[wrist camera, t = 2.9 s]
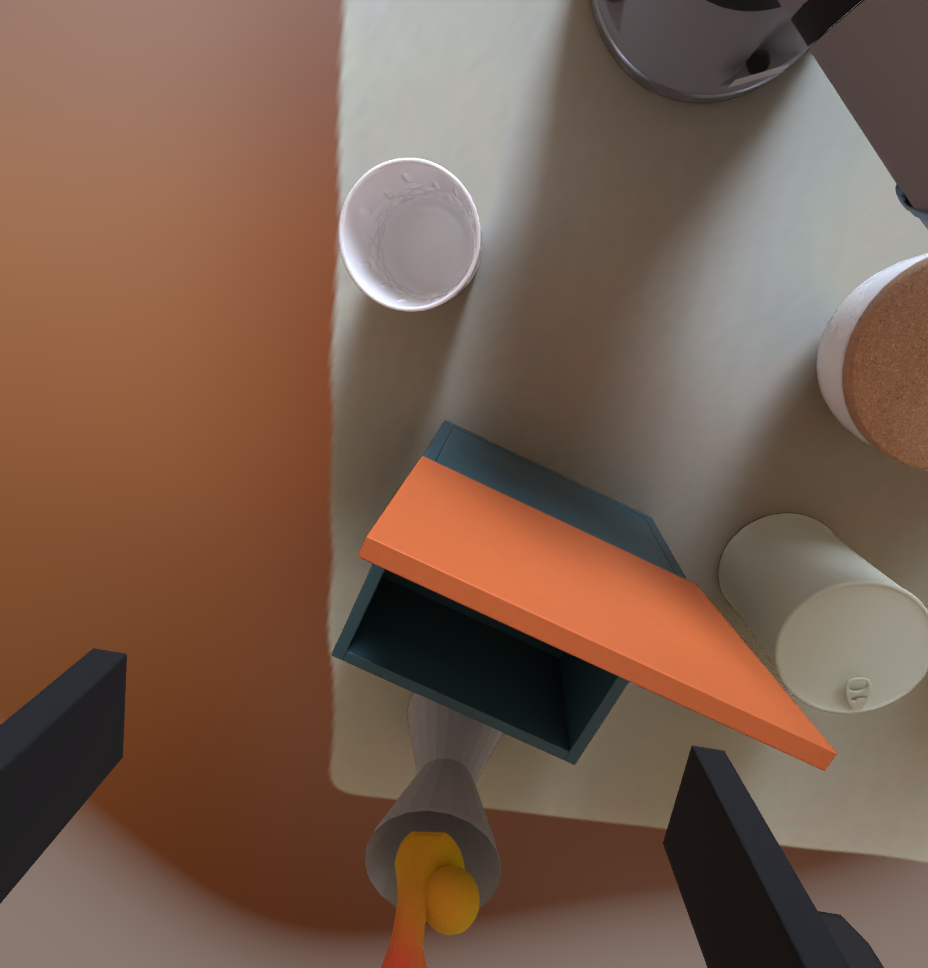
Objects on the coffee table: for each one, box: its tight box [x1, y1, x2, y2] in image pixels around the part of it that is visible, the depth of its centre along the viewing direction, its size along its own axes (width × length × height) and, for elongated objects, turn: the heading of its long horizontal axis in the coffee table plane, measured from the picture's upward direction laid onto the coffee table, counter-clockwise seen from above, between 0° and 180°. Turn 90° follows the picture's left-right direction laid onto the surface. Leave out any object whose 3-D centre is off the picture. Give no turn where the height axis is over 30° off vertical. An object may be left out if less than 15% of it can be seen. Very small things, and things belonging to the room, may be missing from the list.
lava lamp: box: [365, 693, 503, 968], centre depth 38 cm, size 9×9×35 cm
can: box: [719, 513, 928, 714], centre depth 43 cm, size 9×9×12 cm
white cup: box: [339, 158, 482, 312], centre depth 39 cm, size 8×8×10 cm
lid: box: [358, 456, 837, 771], centre depth 28 cm, size 15×18×1 cm
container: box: [332, 420, 687, 765], centre depth 44 cm, size 15×18×12 cm
